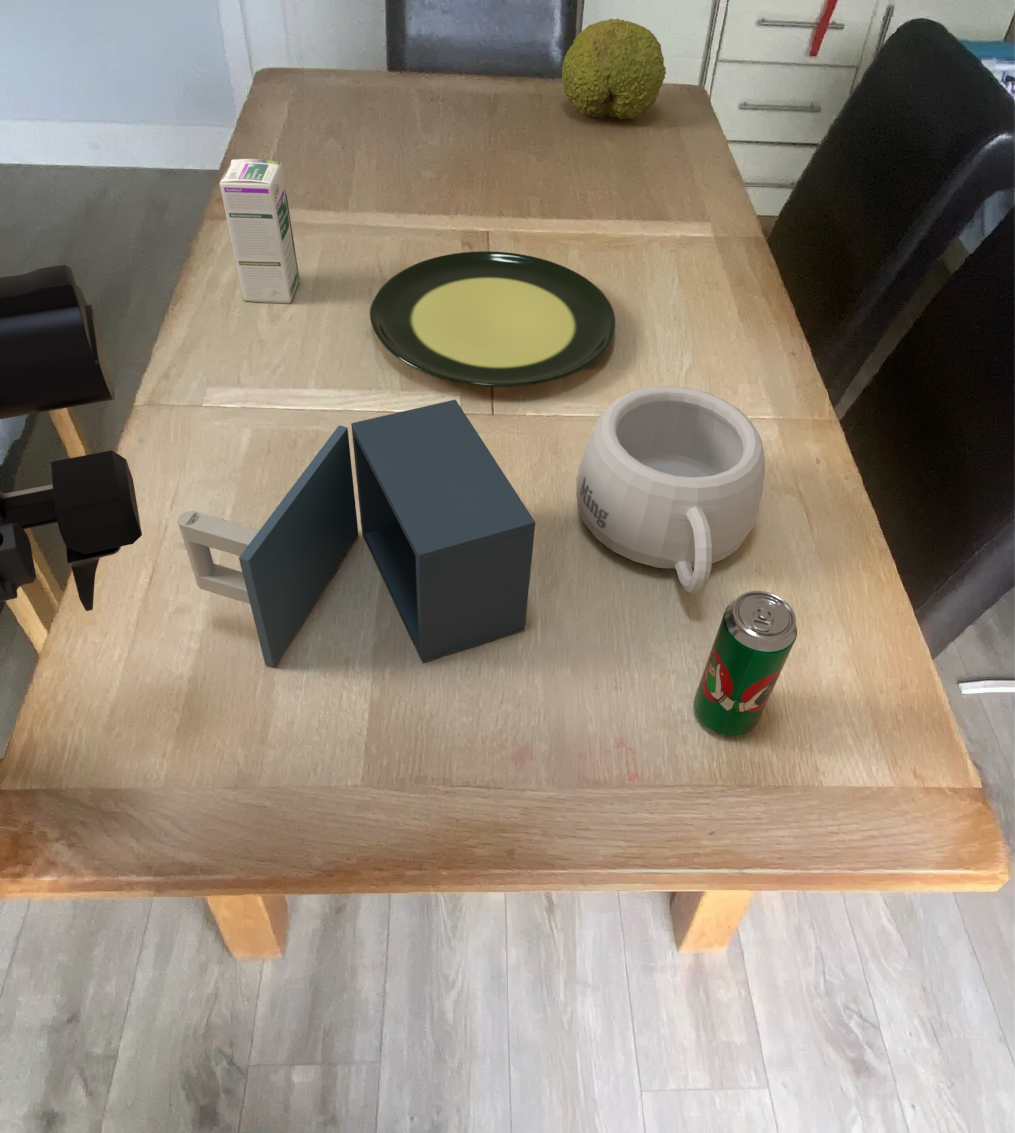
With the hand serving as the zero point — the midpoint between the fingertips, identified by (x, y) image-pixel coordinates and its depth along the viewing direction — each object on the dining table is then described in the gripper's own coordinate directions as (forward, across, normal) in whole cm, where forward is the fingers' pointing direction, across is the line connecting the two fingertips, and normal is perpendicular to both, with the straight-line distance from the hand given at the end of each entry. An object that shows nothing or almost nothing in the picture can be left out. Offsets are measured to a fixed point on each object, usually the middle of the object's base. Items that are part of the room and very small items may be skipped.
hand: (11, 624), depth 56 cm
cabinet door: (+13, +17, +10) cm, 23 cm away
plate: (+13, +48, +41) cm, 65 cm away
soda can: (+13, +47, -14) cm, 50 cm away
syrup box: (+13, +26, +56) cm, 63 cm away
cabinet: (+13, +30, +6) cm, 33 cm away
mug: (+13, +52, +5) cm, 53 cm away
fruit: (+13, +89, +95) cm, 131 cm away
